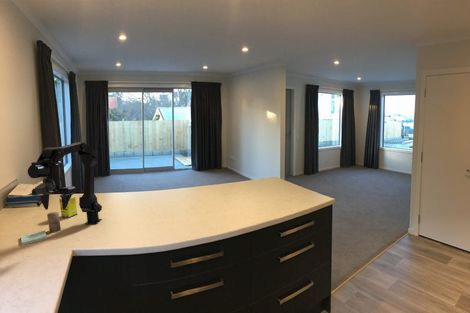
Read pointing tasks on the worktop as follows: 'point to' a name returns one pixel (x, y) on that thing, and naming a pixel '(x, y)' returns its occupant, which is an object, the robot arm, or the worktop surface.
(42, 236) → the sage green board
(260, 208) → the worktop surface
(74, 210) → the supplement box
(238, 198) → the worktop surface
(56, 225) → the walnut canister
